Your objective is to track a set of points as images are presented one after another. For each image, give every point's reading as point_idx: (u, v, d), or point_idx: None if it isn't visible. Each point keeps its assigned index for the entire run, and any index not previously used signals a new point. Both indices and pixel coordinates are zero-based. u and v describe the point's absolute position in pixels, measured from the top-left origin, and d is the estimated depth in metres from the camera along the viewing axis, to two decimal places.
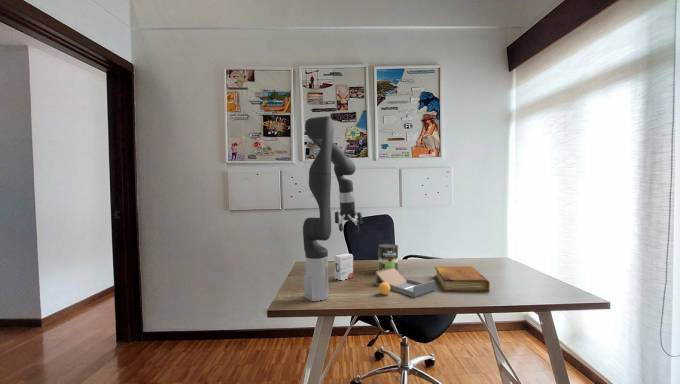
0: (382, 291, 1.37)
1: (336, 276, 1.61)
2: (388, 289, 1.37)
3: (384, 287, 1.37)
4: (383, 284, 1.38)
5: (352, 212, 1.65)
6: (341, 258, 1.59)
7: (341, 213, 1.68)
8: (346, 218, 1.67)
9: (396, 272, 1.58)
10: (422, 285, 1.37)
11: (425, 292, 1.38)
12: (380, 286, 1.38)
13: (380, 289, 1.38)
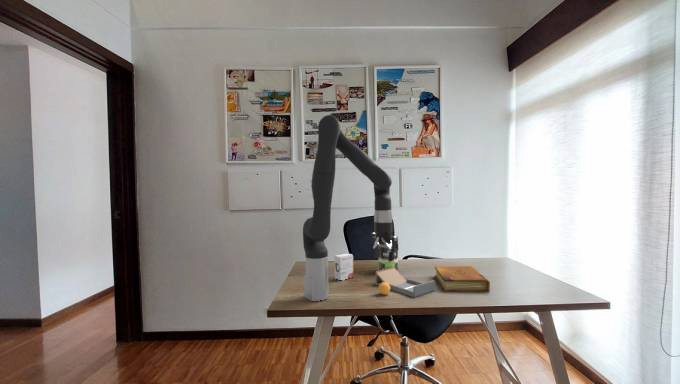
0: (382, 291, 1.37)
1: (336, 276, 1.61)
2: (388, 289, 1.37)
3: (384, 287, 1.37)
4: (383, 284, 1.38)
5: (386, 235, 1.36)
6: (341, 258, 1.59)
7: (376, 235, 1.40)
8: (380, 242, 1.38)
9: (396, 272, 1.58)
10: (422, 285, 1.37)
11: (425, 292, 1.38)
12: (380, 286, 1.38)
13: (380, 289, 1.38)
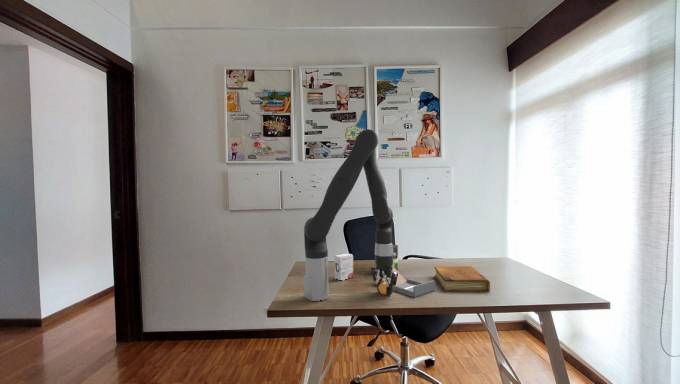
0: (382, 291, 1.37)
1: (336, 276, 1.61)
2: None
3: (384, 287, 1.37)
4: (383, 284, 1.38)
5: (387, 269, 1.36)
6: (341, 258, 1.59)
7: (377, 267, 1.41)
8: (382, 274, 1.38)
9: None
10: (422, 285, 1.37)
11: (425, 292, 1.38)
12: (380, 286, 1.38)
13: (380, 289, 1.38)
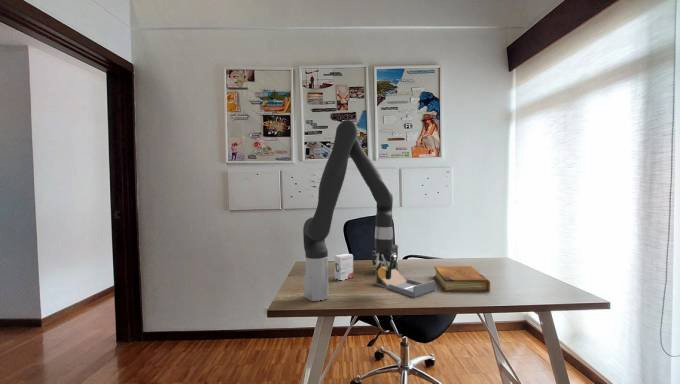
0: (381, 275, 1.36)
1: (336, 276, 1.61)
2: None
3: (383, 271, 1.36)
4: (382, 268, 1.37)
5: (387, 252, 1.35)
6: (341, 258, 1.59)
7: (376, 251, 1.40)
8: (381, 258, 1.37)
9: (396, 272, 1.58)
10: (422, 285, 1.37)
11: (425, 292, 1.38)
12: (379, 270, 1.37)
13: (379, 273, 1.37)
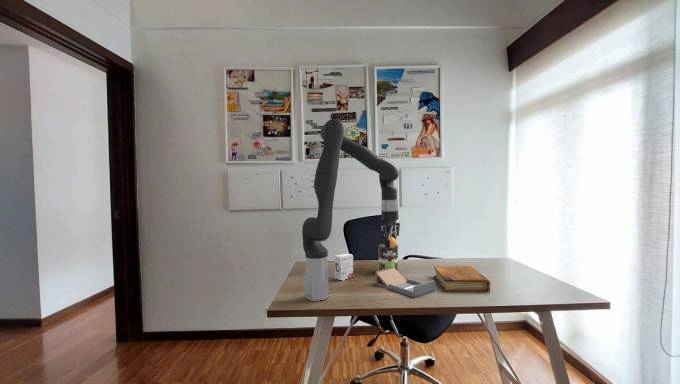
0: None
1: (336, 276, 1.61)
2: None
3: None
4: None
5: None
6: (341, 258, 1.59)
7: None
8: None
9: (396, 272, 1.58)
10: (422, 285, 1.37)
11: (425, 292, 1.38)
12: None
13: None
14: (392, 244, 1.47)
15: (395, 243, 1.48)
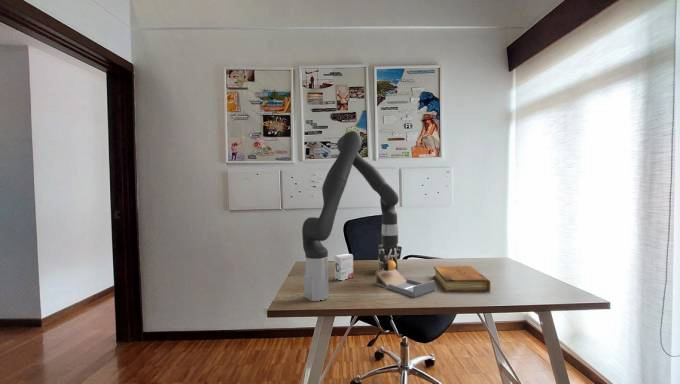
0: None
1: (336, 276, 1.61)
2: None
3: None
4: None
5: None
6: (341, 258, 1.59)
7: None
8: None
9: (396, 272, 1.58)
10: (422, 285, 1.37)
11: (425, 292, 1.38)
12: None
13: None
14: (390, 267, 1.52)
15: (394, 266, 1.52)
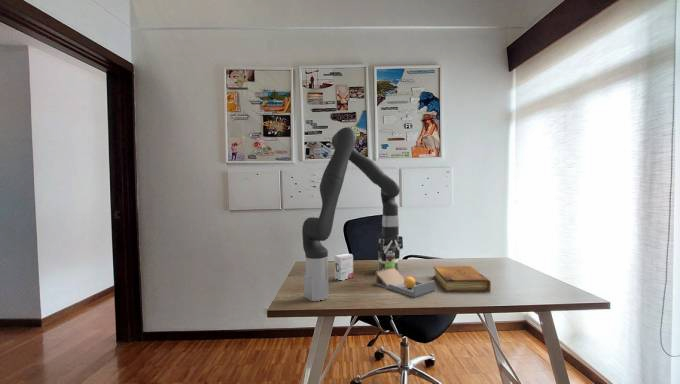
0: None
1: (336, 276, 1.61)
2: (405, 283, 1.44)
3: (404, 283, 1.45)
4: None
5: None
6: (341, 258, 1.59)
7: None
8: None
9: (396, 272, 1.58)
10: (422, 285, 1.37)
11: (425, 292, 1.38)
12: None
13: None
14: (410, 281, 1.43)
15: (412, 279, 1.43)
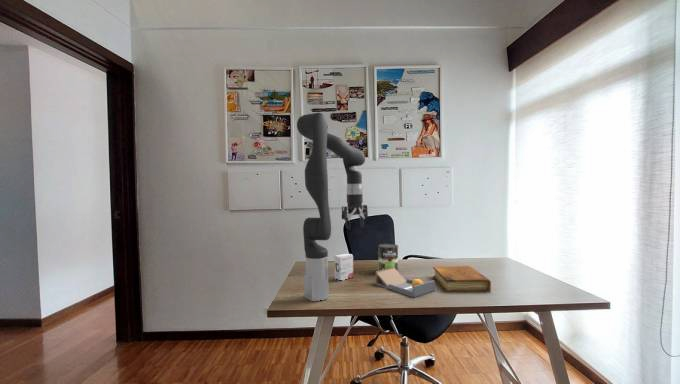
0: None
1: (336, 276, 1.61)
2: (414, 285, 1.40)
3: (414, 281, 1.41)
4: (418, 280, 1.40)
5: None
6: (341, 258, 1.59)
7: None
8: None
9: (396, 272, 1.58)
10: (422, 285, 1.37)
11: (425, 292, 1.38)
12: (417, 279, 1.42)
13: None
14: None
15: None
